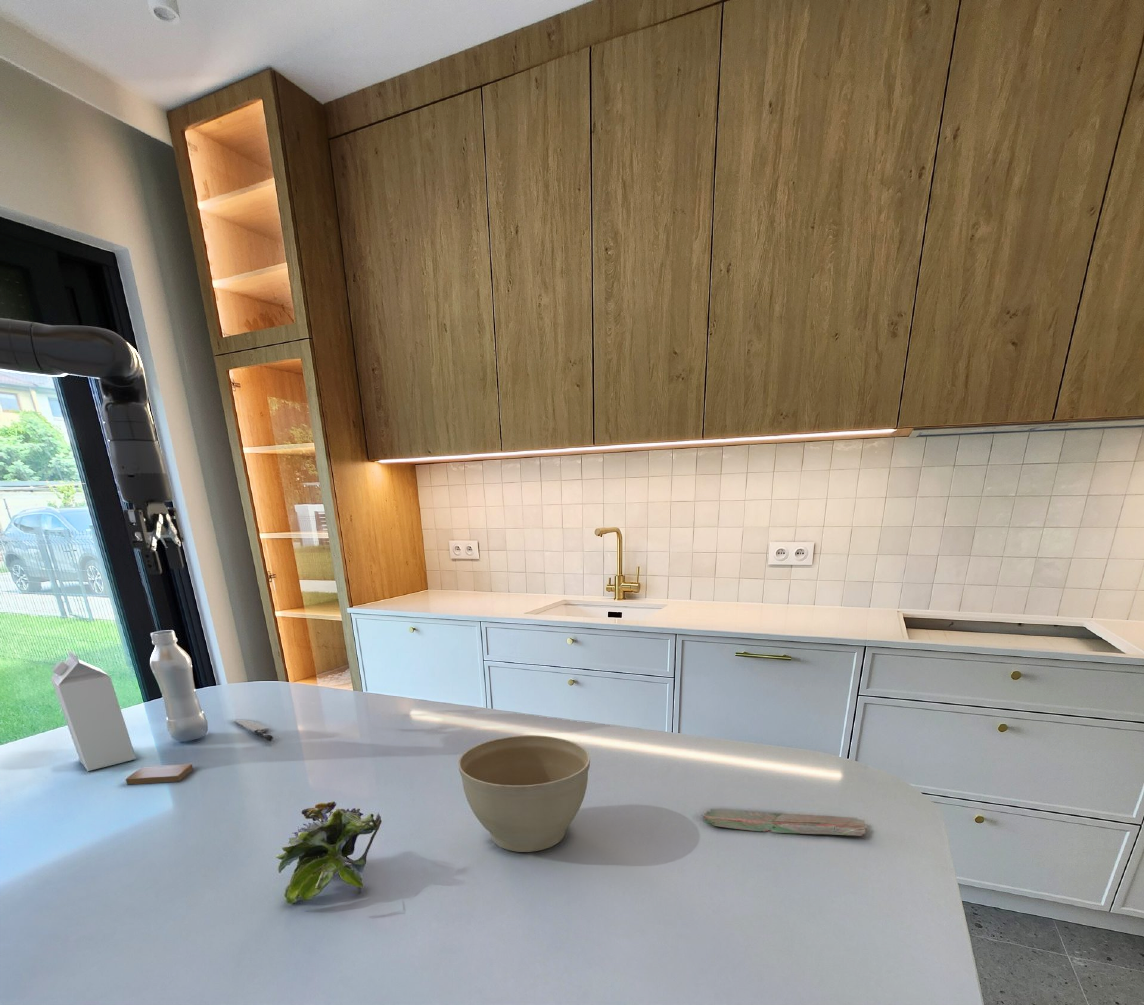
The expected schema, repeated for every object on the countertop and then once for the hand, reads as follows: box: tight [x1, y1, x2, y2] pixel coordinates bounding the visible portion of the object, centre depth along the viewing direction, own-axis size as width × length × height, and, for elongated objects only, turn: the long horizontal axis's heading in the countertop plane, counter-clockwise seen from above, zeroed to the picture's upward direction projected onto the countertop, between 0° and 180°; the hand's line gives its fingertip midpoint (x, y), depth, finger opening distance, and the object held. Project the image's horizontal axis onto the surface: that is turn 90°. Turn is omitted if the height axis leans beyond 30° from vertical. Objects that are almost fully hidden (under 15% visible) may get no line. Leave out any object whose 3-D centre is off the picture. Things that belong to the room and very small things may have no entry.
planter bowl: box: [457, 734, 591, 853], centre depth 82 cm, size 16×16×11 cm
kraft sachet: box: [125, 763, 194, 786], centre depth 105 cm, size 8×5×1 cm, turn 95°
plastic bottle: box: [149, 629, 209, 742], centre depth 118 cm, size 6×7×20 cm
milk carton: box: [50, 649, 137, 772], centre depth 109 cm, size 7×7×19 cm
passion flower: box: [275, 801, 383, 905], centre depth 74 cm, size 11×11×12 cm
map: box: [700, 808, 868, 837], centre depth 84 cm, size 5×20×1 cm, turn 77°
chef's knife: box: [232, 719, 274, 742], centre depth 125 cm, size 19×1×3 cm
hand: (166, 571), depth 116 cm, fingers open, 8 cm apart
